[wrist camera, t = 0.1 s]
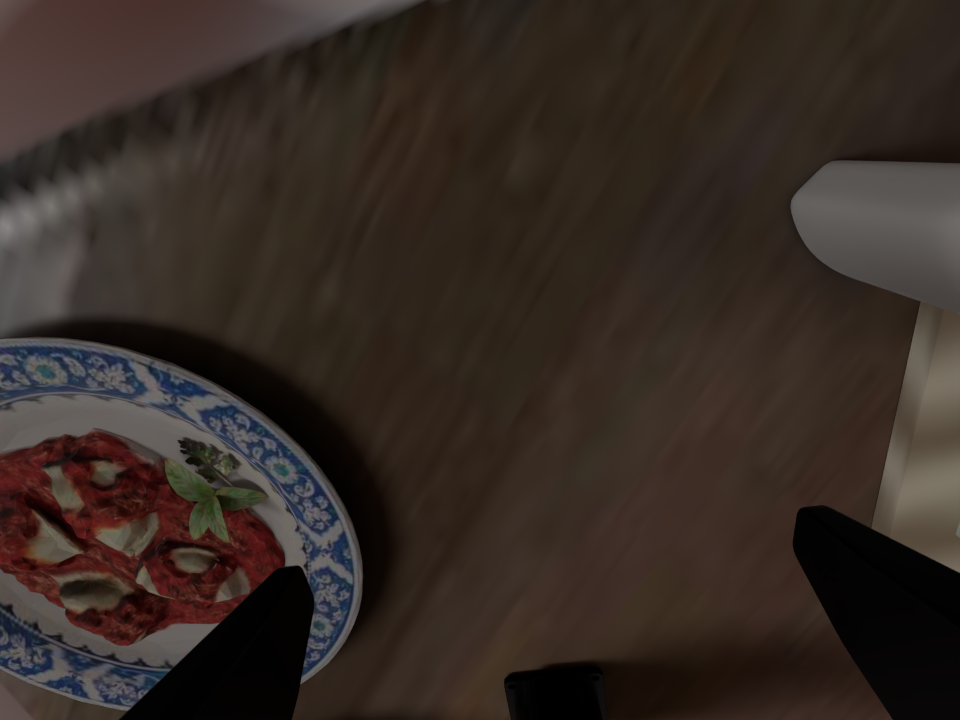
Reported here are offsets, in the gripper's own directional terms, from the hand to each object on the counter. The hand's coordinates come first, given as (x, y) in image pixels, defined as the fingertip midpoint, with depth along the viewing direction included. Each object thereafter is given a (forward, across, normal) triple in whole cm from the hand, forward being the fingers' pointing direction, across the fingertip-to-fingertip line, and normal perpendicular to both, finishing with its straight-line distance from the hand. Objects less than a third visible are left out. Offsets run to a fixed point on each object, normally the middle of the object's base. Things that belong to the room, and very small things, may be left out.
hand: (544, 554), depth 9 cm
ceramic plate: (+15, +22, +10) cm, 29 cm away
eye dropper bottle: (+15, -15, -2) cm, 21 cm away
